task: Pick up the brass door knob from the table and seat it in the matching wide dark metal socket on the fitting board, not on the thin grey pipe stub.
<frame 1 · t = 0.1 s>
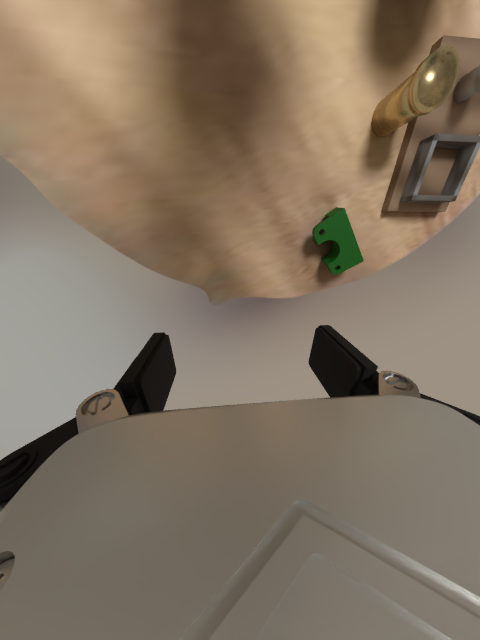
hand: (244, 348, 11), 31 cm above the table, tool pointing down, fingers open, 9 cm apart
brass door knob: (386, 117, 30), on the table
clamp: (326, 242, 39), on the table
fitting board: (435, 142, 32), on the table
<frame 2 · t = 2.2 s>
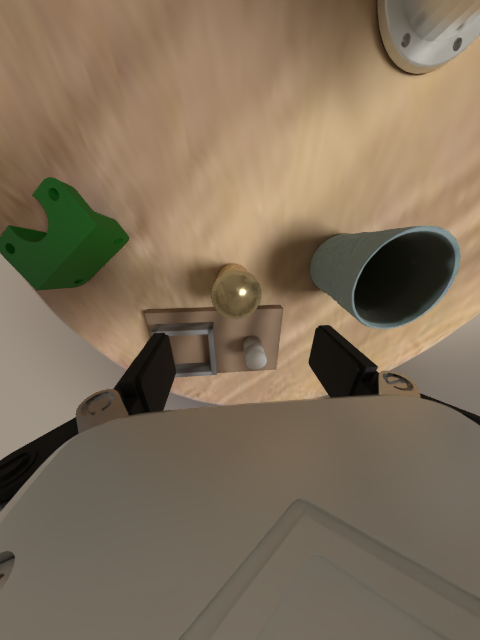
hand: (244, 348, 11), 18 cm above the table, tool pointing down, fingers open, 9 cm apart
brass door knob: (233, 279, 27), on the table
clamp: (85, 240, 23), on the table
fitting board: (218, 340, 32), on the table
grey-green cup: (333, 264, 27), on the table
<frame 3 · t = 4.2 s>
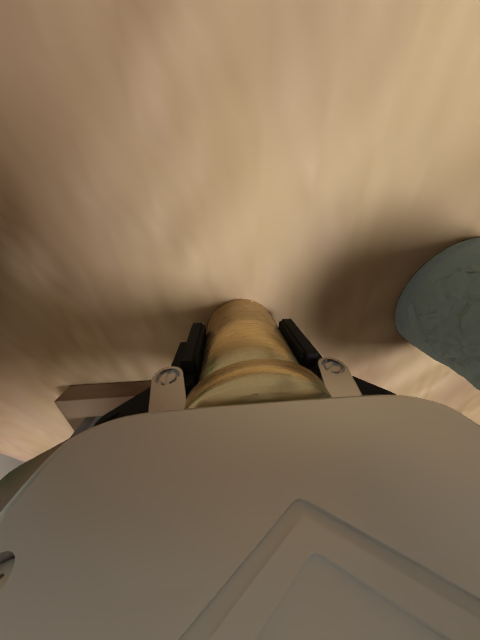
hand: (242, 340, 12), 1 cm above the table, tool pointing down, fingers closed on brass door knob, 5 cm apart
brass door knob: (241, 330, 13), on the table, touching gripper
fitting board: (212, 424, 18), on the table
grey-green cup: (442, 297, 14), on the table
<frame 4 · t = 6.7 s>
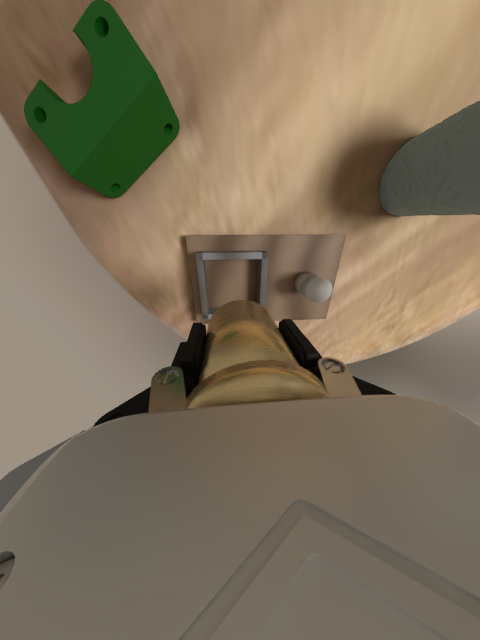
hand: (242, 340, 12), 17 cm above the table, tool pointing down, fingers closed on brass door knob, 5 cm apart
brass door knob: (241, 331, 13), point 16 cm above the table, touching gripper
clamp: (124, 136, 19), on the table
fitting board: (263, 280, 27), on the table
grey-green cup: (407, 180, 23), on the table
when the fingers open (5 cm above the table, at t = 9.1 s): brass door knob drops 2 cm, resting on fitting board.
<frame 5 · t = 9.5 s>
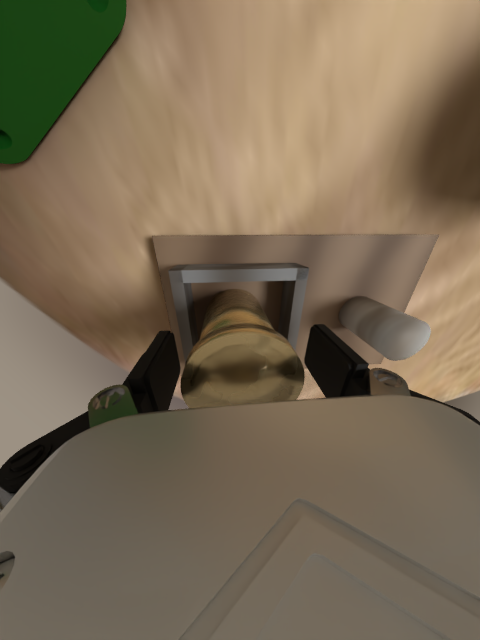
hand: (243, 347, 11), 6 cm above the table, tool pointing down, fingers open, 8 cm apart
brass door knob: (234, 316, 15), point 2 cm above the table, touching fitting board
clamp: (13, 26, 9), on the table
fitting board: (287, 308, 17), on the table
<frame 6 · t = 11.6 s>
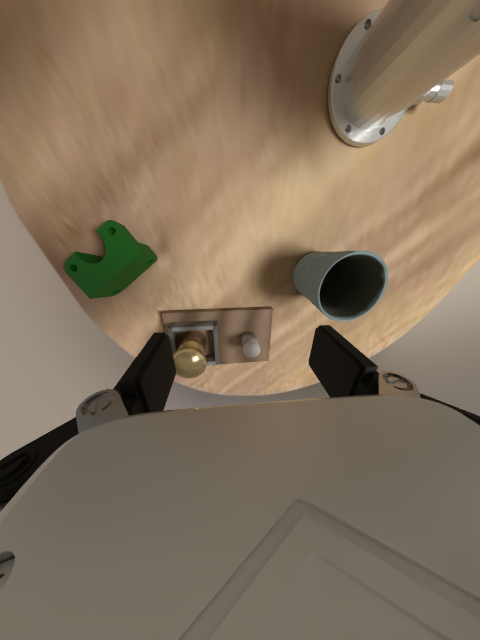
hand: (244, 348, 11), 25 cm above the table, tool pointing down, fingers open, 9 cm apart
brass door knob: (194, 340, 36), point 2 cm above the table, touching fitting board
clamp: (122, 260, 30), on the table
fitting board: (220, 336, 38), on the table
grey-green cup: (311, 274, 35), on the table
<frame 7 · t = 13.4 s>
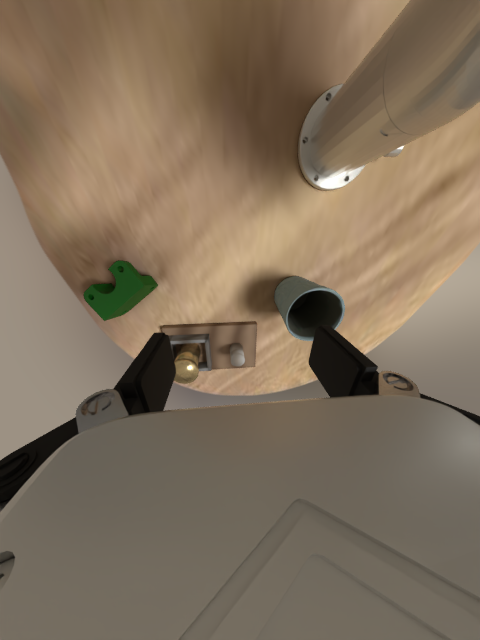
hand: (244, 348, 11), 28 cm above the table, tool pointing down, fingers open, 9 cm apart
brass door knob: (190, 350, 43), point 2 cm above the table, touching fitting board
clamp: (129, 285, 36), on the table
fitting board: (212, 345, 44), on the table
grey-green cup: (290, 294, 40), on the table
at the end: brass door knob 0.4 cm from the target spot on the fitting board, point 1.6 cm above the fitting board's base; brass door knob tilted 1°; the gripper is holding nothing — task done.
